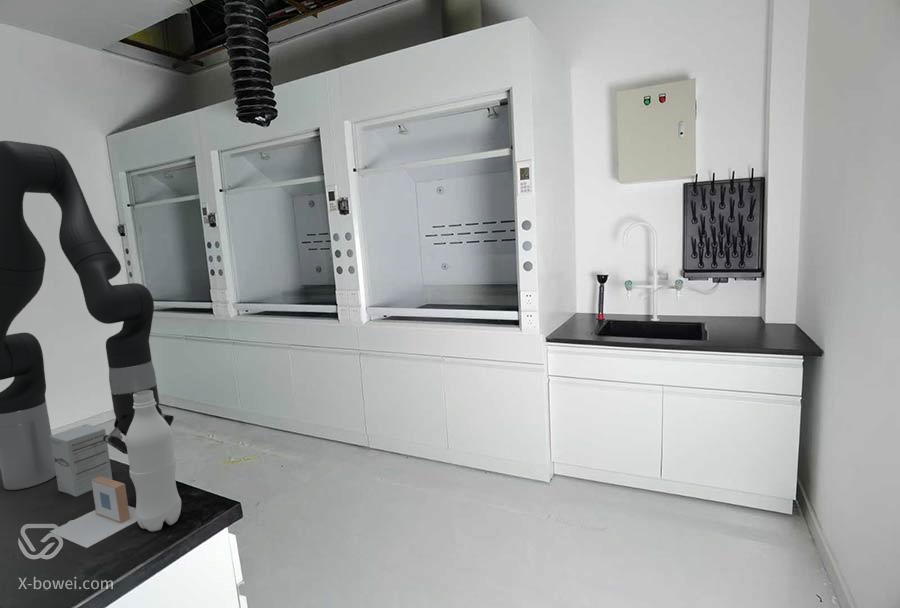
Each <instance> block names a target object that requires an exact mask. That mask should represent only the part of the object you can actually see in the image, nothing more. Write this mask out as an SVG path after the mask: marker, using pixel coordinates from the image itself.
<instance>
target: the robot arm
mask: <svg viewBox="0 0 900 608" xmlns="http://www.w3.org/2000/svg"><path fill="white" fill-rule="evenodd" d="M26 193H31V194H32V193H33V194H35V193H36V194H48V195H49V194H50V196H51V197H52V198H53V199H54V200H55V201H56V203H57V204H58V206H59V207H60V211H61V219H60V226H59V233H58V239H59V245H60V248H61V250H62V252H63V254H64V256H65V257H66V259H67V260H68V262H69V264H70V265H71V266H72V268H73V269H74V271H75V272H76V274H77V276H78V279H79V283H80V287H81V290H82V294H83V298H84V302H85V306H86V309H87V311H88V313H89V315H90V316H91V317H92V318H94V319H95V320H96V321H98V322H99V323H102V324H107V325H109V324H110V325H111V324H116V323H121V322H123V323H122V327H121V330H119V331H118V332H117V333H115V334H113V335H111V336H109V337H108V338H107V339H106V341H105V351H106V359H107V365H108V381H109V382H108V383H109V388H110V394H111V401H112V407H113V413H114V416H115V420H114V423H113V426H114V429H113V430H112V431H110V433H109V434H106V435H105V436H104V438H103V440H104V441H105V442H107V445H110V446H111V447H113V448H114V449H116V450H118V451H119V452H121V453H122V454H124V455H128V452H127V446H126V445H125V442H124V441H123V436H125V437H126V435H127V432H128V429H129V427H130V425H131V423H132V420H133V418H134V414H135V409H133V406H134V404H133V403H134V398H133V394H135V393H137V392H141V391H146V390H152V391H153V395H154V399H155V402H156V405H155V407H156V409H157V411H158V413H159V414H160V415H161V416H162V417H163V418H164V420H165V421H166V422H167V423H168V425H169V426H170V427H171V425H172V424H173V421H174V419H175V418H174V415H170V414H165V413H163V412H162V409H161V408H160V406H159V405H160V399H159V392H158V384H157V376H156V372H155V371H156V370H155V366H154V364H153V358H152V353H151V352H152V351H151V348H150V347H151V345H150V336H151V331H152V324H153V317H154V310H155V302H154V298H153V296H152V293H151V292H150V290H149V289H148V287H146V286H145V285H143V284H141V283H137V282H133V283H123V284H115V285H114V284H113V285H112V284H111V283H110V280H112V279H114V278H116V276H118V275H119V273H120V272H121V270H122V269H121V268H122V265H121V262H120V260H119V258H118V257H117V255H116V254H115V253H114V251H113V249H112V248H111V246H110V244H109V243H108V242H107V240H106V239H105V238H104V236H103V234H102V232H101V231H100V229H99V227H98V225H97V223H96V222H95V219H94V218H93V217H94V216H93V215H92V212H91V210H90V207H89V205H88V202H87V199H86V197H85V194H84V193H83V190H82V188H81V186H80V184H79V181H78V179H77V177H76V174H75V171H74V170H73V168H72V165H71V163H70V162H69V160H68V159H67V157H66V156H65V154H64V153H62V152H61V151H60V150H59V149H58V148H55V147H52V146H50V145H45V144H44V145H42V144H36V143H30V142H29V143H27V142H21V141H15V140H14V141H12V140H1V141H0V381H2V380H6V379H10V378H11V379H12V378H13V380H12V382H11V383H10V384H9V385H8V386H7V387H6V388H5V389H3V390H2V391H0V472H1V479H2V484H3V488H4V490H9V491H12V490H13V491H16V490H22V489H27V488H31V487H35V486H38V485H40V484H43V483H45V482H47V481H50V480H52V479H53V478H54V477H55V476H56V471H55V465H54V458H53V452H52V446H51V440H50V436H51V435H53V433H52V429H51V423H50V417H49V411H48V405H47V400H46V392H47V382H46V373H45V361H44V353H43V349H42V345H41V343H40V341H39V340H38V339H37V337H36V336H35V334H34V335H33V334H32V333H31V332H19V333H17V332H16V333H11V334H8V331H9V328H10V326H11V325H12V323H13V321H14V320H15V318H16V317H17V316H18V315H19V314H20V313H21V312H22V311H23V310H24V309H25V308H26V306H27V305H29V303H31V302H32V300H33V299H34V298H35V296H37V294H38V293H39V291H40V290H41V288H42V285H43V281H44V276H45V275H44V274H45V267H46V261H47V259H46V253H45V250H44V248H43V247H42V245H41V243H40V241H38V239H37V238H36V236H35V234H34V232H33V231H32V230H31V229H30V227H29V226H28V224H27V222H26V220H25V217H24V216H25V215H24V198H25V194H26Z"/></svg>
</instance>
